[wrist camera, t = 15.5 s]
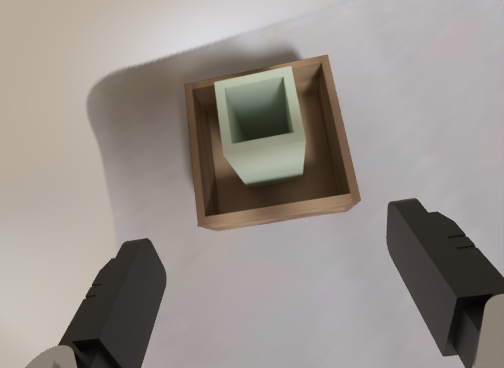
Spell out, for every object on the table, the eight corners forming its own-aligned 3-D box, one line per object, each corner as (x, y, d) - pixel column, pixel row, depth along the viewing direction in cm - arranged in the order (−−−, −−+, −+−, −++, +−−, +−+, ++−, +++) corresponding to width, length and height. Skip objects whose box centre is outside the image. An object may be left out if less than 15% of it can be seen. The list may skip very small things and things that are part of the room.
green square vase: (292, 128, 29) (291, 65, 19) (302, 179, 28) (305, 139, 18) (241, 138, 29) (213, 82, 20) (248, 188, 28) (223, 155, 18)
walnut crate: (321, 91, 30) (327, 54, 24) (347, 210, 27) (360, 200, 22) (204, 114, 31) (184, 84, 26) (217, 231, 28) (198, 225, 23)
